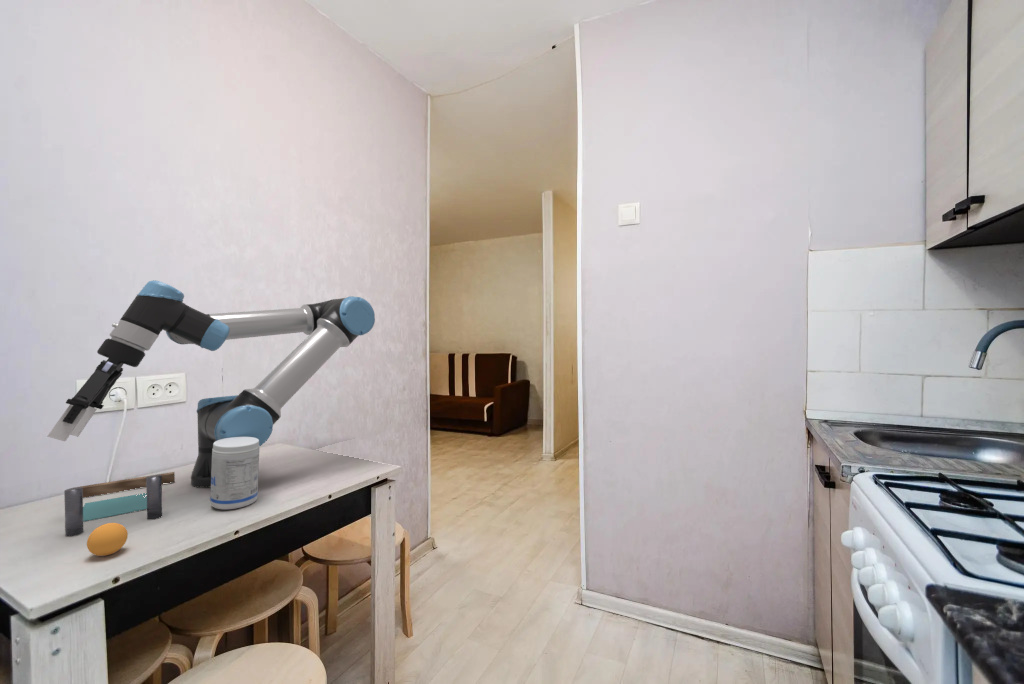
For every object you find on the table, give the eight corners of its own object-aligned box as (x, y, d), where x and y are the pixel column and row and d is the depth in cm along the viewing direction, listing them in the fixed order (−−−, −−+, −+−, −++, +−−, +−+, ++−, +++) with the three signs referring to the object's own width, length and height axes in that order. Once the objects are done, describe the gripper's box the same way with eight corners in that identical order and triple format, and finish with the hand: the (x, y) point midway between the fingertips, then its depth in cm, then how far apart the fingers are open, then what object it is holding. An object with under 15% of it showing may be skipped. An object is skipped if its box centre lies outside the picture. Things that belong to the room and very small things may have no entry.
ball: (129, 544, 84) (128, 515, 84) (126, 555, 80) (126, 524, 80) (89, 553, 81) (88, 523, 81) (84, 565, 77) (84, 533, 77)
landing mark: (160, 491, 114) (160, 490, 114) (159, 507, 103) (159, 506, 103) (85, 504, 105) (85, 503, 105) (75, 523, 94) (75, 522, 94)
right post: (162, 514, 99) (161, 474, 99) (162, 517, 97) (161, 476, 97) (147, 517, 97) (146, 476, 97) (146, 520, 95) (145, 479, 95)
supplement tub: (206, 500, 105) (208, 439, 104) (252, 492, 111) (253, 434, 111) (214, 514, 98) (216, 448, 97) (262, 504, 104) (264, 442, 104)
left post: (84, 529, 91) (83, 486, 91) (82, 534, 89) (81, 489, 89) (66, 533, 89) (65, 488, 89) (64, 537, 87) (63, 492, 87)
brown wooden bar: (174, 480, 122) (174, 471, 122) (174, 482, 121) (174, 473, 121) (73, 497, 110) (73, 487, 110) (72, 499, 108) (71, 489, 108)
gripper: (114, 342, 106) (54, 426, 99) (99, 329, 86) (23, 433, 79) (149, 356, 110) (95, 438, 102) (143, 347, 90) (74, 448, 82)
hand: (63, 436), depth 90 cm, fingers open, 13 cm apart
